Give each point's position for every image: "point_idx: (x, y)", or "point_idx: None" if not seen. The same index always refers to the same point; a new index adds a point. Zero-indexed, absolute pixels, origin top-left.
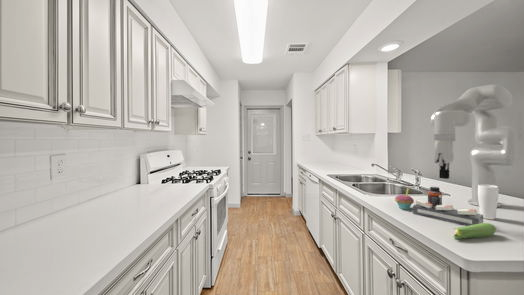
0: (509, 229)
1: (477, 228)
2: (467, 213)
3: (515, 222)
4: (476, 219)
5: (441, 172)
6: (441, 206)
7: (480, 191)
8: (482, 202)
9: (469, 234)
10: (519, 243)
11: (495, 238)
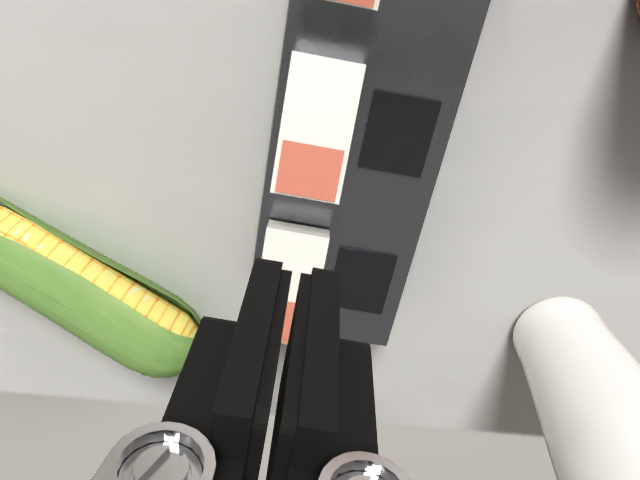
0: None
1: (37, 311)
2: None
3: (529, 423)
4: None
5: (176, 388)
6: (290, 112)
7: (613, 465)
8: (559, 390)
9: None
10: (151, 403)
11: None
